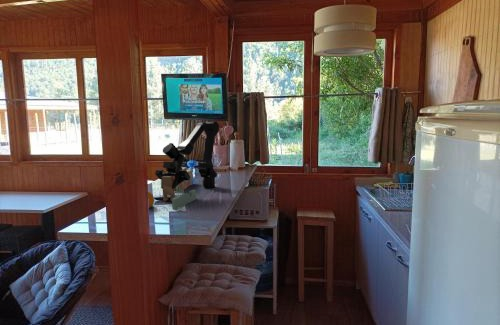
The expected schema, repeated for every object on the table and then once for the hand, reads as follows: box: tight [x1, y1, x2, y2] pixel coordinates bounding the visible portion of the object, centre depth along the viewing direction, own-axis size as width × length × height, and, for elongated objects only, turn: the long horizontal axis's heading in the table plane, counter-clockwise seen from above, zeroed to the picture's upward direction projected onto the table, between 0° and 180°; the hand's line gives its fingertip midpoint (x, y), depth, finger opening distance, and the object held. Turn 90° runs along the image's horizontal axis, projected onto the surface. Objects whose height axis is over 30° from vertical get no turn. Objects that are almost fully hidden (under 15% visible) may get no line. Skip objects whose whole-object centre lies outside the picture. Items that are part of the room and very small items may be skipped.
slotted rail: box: [171, 189, 197, 210], centre depth 184 cm, size 20×2×5 cm, turn 159°
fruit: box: [147, 190, 155, 209], centre depth 179 cm, size 12×12×10 cm
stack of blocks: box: [174, 166, 194, 192], centre depth 223 cm, size 21×6×12 cm, turn 169°
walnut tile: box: [161, 176, 176, 202], centre depth 192 cm, size 2×6×12 cm, turn 69°
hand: (166, 188), depth 190 cm, fingers closed on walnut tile, 6 cm apart
